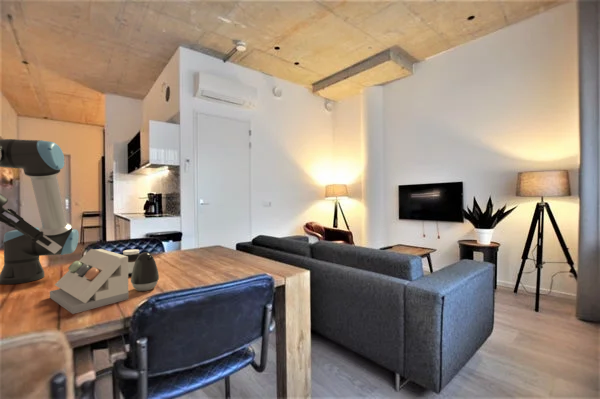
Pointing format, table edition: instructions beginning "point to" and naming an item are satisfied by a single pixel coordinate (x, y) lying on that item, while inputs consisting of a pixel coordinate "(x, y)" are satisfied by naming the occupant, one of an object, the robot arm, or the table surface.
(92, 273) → the terracotta button
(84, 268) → the charcoal button
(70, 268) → the sage button
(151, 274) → the dark grey egg figure
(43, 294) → the table surface
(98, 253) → the button console
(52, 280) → the table surface
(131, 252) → the spread jar
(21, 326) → the table surface
